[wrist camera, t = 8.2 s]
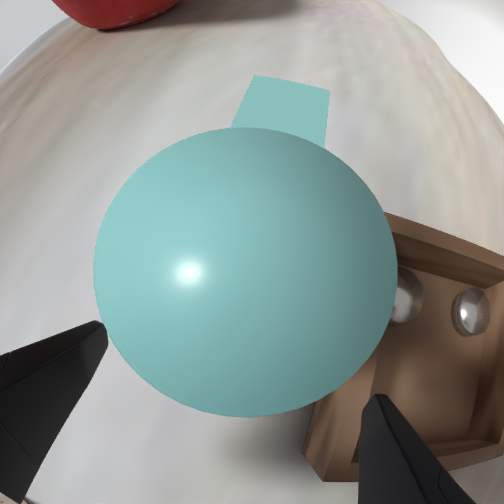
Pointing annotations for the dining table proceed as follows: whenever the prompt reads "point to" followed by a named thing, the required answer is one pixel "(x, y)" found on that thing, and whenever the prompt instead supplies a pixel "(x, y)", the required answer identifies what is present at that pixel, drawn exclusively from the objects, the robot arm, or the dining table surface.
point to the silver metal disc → (470, 312)
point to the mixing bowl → (113, 11)
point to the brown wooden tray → (426, 364)
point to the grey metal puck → (406, 297)
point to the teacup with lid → (8, 500)
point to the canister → (247, 262)
